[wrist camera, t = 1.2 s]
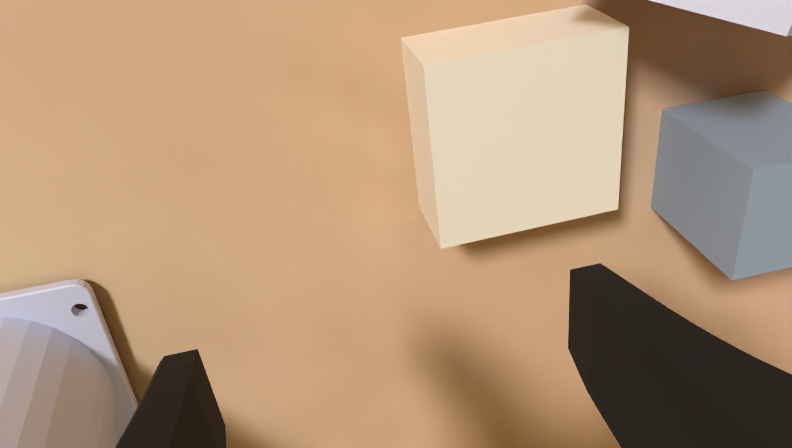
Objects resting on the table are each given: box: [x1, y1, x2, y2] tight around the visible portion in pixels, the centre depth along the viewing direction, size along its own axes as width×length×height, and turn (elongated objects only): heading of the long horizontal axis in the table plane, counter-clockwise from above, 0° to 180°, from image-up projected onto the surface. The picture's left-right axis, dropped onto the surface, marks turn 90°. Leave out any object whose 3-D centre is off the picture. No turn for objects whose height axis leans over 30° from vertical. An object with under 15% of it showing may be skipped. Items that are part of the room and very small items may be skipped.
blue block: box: [651, 90, 792, 281], centre depth 24 cm, size 4×4×5 cm
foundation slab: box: [401, 4, 629, 249], centre depth 22 cm, size 6×6×3 cm
